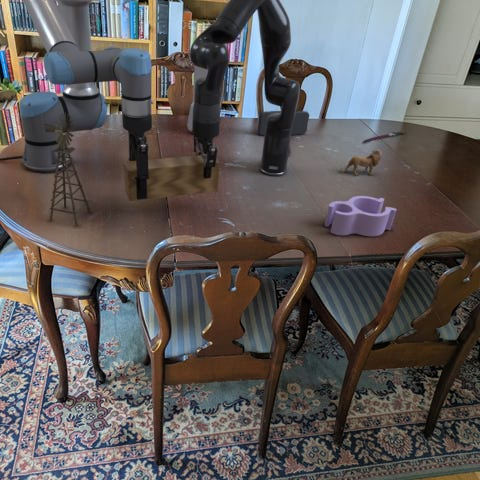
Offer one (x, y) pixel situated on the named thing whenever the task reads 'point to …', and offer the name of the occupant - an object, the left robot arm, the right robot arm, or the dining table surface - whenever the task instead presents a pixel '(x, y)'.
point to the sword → (382, 136)
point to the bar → (172, 177)
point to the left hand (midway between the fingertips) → (139, 192)
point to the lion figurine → (365, 162)
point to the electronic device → (197, 74)
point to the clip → (359, 216)
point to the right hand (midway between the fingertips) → (203, 172)
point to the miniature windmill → (60, 149)
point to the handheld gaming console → (297, 127)
